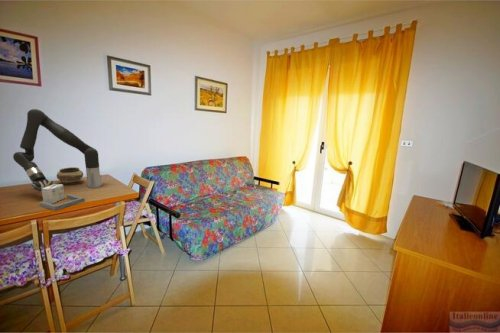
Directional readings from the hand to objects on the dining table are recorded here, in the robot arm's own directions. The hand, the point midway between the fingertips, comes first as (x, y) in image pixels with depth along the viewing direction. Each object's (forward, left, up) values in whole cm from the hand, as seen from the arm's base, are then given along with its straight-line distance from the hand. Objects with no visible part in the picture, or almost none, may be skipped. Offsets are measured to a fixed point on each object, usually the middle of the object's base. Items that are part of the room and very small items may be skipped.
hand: (48, 194), depth 152 cm
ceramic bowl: (-31, -28, -4) cm, 42 cm away
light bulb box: (-1, +4, -4) cm, 6 cm away
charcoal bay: (0, +13, -4) cm, 14 cm away
